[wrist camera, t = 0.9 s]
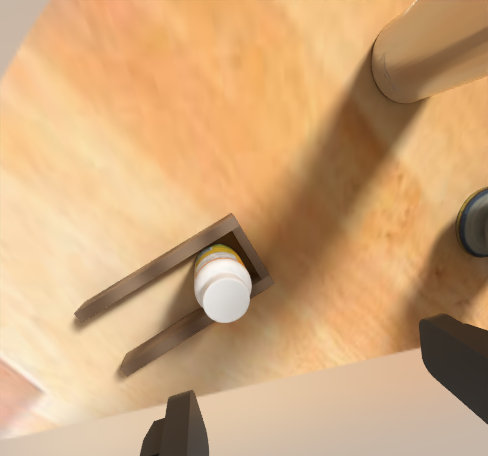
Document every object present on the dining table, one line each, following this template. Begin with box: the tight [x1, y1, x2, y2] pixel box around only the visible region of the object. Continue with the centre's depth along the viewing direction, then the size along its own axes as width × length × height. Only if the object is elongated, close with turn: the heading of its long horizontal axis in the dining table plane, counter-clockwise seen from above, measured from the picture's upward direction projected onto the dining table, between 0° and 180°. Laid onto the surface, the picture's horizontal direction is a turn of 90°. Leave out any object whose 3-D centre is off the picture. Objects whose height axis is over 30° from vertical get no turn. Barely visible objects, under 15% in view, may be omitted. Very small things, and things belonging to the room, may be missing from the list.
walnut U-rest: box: [74, 213, 275, 376], centre depth 30 cm, size 19×9×3 cm, turn 121°
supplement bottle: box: [194, 244, 252, 323], centre depth 27 cm, size 5×5×10 cm
